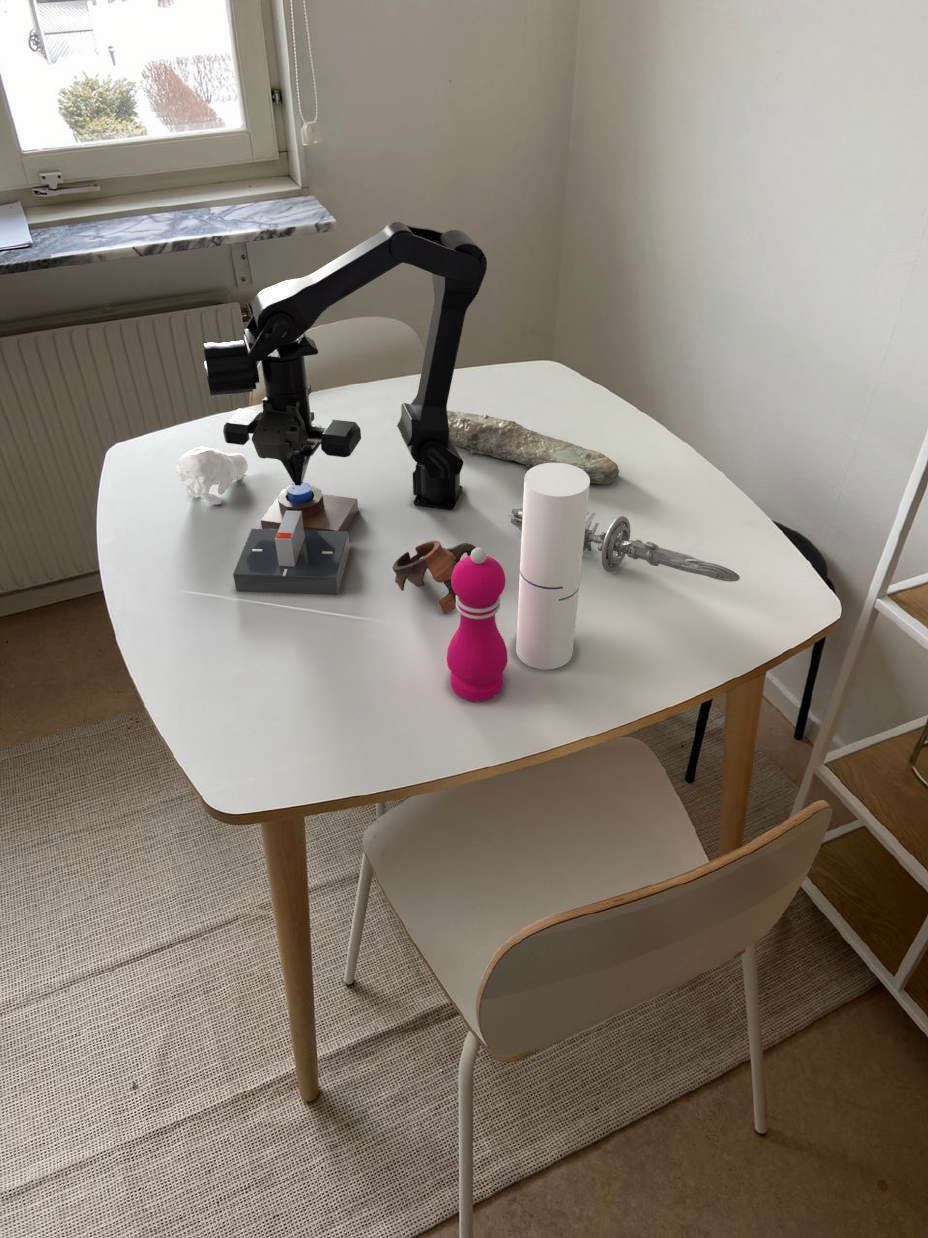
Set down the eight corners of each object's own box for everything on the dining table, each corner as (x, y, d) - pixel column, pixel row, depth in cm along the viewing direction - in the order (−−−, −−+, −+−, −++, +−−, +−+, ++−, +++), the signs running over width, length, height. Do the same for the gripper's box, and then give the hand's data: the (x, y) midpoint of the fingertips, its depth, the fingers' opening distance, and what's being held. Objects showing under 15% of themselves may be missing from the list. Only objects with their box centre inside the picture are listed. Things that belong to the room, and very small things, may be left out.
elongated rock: (600, 504, 146) (625, 479, 153) (606, 475, 142) (631, 450, 149) (415, 437, 158) (445, 417, 165) (416, 409, 155) (447, 389, 162)
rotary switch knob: (289, 537, 131) (285, 508, 128) (305, 537, 131) (301, 509, 128) (278, 566, 126) (274, 537, 122) (294, 566, 125) (290, 538, 122)
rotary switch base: (350, 548, 134) (348, 529, 132) (337, 595, 125) (335, 577, 123) (254, 544, 135) (251, 526, 133) (235, 592, 126) (232, 573, 124)
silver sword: (725, 583, 115) (750, 535, 118) (491, 518, 132) (517, 478, 135) (729, 618, 121) (752, 571, 124) (505, 552, 139) (530, 513, 141)
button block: (358, 510, 142) (356, 488, 139) (339, 543, 135) (336, 520, 132) (285, 501, 144) (281, 478, 141) (262, 532, 137) (258, 509, 135)
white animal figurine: (168, 450, 138) (226, 425, 147) (176, 501, 143) (231, 474, 152) (199, 462, 136) (256, 436, 144) (205, 513, 140) (260, 485, 149)
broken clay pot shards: (430, 628, 121) (401, 576, 118) (404, 616, 129) (376, 567, 126) (502, 579, 124) (475, 526, 121) (472, 570, 132) (446, 521, 130)
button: (316, 493, 139) (314, 483, 138) (307, 506, 136) (306, 495, 135) (293, 490, 139) (292, 480, 138) (284, 503, 137) (283, 493, 136)
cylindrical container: (512, 633, 119) (520, 463, 104) (567, 630, 120) (583, 461, 104) (520, 671, 114) (529, 497, 98) (577, 667, 114) (595, 494, 98)
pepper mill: (500, 709, 109) (506, 572, 96) (441, 700, 110) (438, 564, 97) (510, 668, 114) (517, 534, 102) (453, 660, 115) (453, 526, 103)
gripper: (197, 404, 122) (216, 505, 132) (331, 419, 119) (341, 521, 129) (232, 369, 130) (248, 466, 140) (358, 382, 127) (365, 481, 137)
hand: (298, 484), depth 136 cm, fingers closed
